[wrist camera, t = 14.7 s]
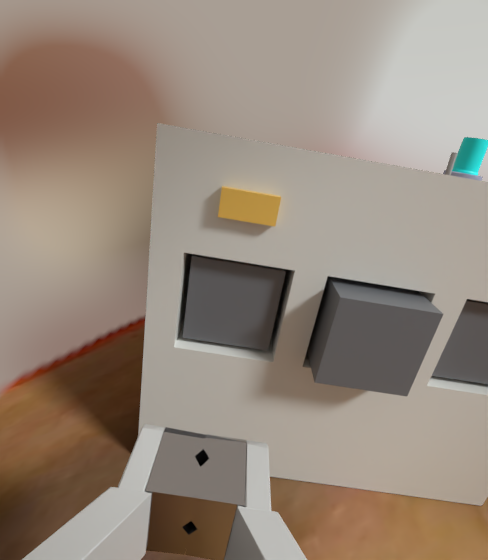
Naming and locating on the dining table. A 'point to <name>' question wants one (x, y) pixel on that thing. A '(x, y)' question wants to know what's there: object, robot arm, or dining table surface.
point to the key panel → (316, 310)
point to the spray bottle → (469, 158)
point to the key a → (232, 302)
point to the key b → (467, 346)
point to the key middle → (371, 336)
